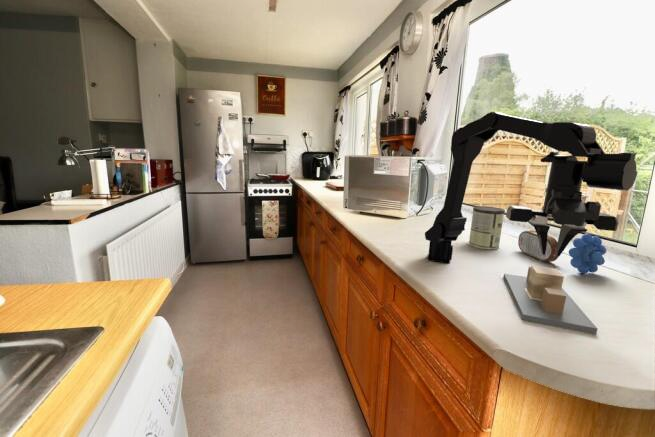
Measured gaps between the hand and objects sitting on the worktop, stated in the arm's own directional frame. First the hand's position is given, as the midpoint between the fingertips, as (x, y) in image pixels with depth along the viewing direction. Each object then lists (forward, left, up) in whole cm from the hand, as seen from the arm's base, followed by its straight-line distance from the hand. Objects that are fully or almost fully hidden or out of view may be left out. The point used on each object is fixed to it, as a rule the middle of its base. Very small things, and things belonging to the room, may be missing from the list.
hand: (550, 255), depth 68 cm
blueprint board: (0, 0, -11) cm, 11 cm away
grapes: (+17, +26, -11) cm, 33 cm away
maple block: (0, 0, -10) cm, 10 cm away
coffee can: (-8, +45, -11) cm, 47 cm away
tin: (+7, +38, -11) cm, 40 cm away
